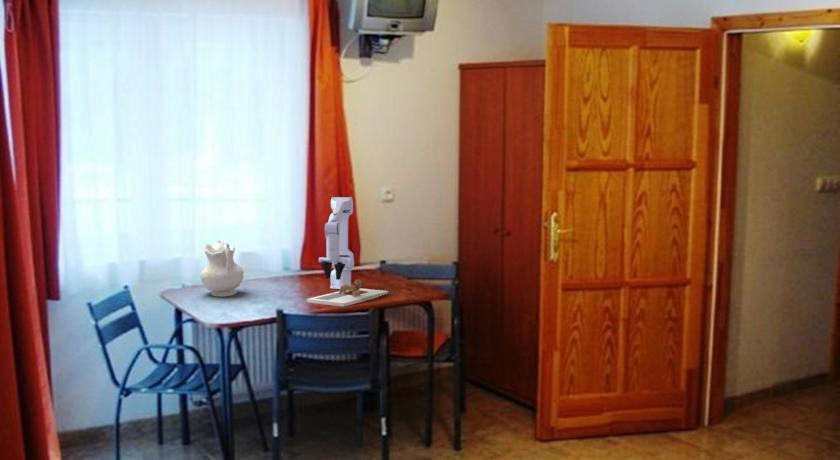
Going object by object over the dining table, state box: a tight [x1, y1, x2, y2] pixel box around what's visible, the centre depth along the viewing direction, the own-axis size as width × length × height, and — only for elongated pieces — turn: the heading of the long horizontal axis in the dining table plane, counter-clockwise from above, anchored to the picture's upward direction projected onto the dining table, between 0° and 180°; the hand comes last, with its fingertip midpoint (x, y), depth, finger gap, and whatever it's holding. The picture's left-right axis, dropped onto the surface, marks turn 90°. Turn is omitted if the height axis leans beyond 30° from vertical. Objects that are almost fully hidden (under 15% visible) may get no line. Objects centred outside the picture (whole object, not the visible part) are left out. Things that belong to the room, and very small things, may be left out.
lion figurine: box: [339, 279, 363, 295], centre depth 370 cm, size 12×4×7 cm, turn 119°
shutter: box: [352, 289, 389, 299], centre depth 363 cm, size 6×20×3 cm, turn 149°
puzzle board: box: [306, 287, 388, 308], centre depth 364 cm, size 20×36×2 cm, turn 149°
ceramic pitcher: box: [200, 240, 244, 297], centre depth 370 cm, size 22×20×25 cm
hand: (333, 278), depth 359 cm, fingers open, 5 cm apart
